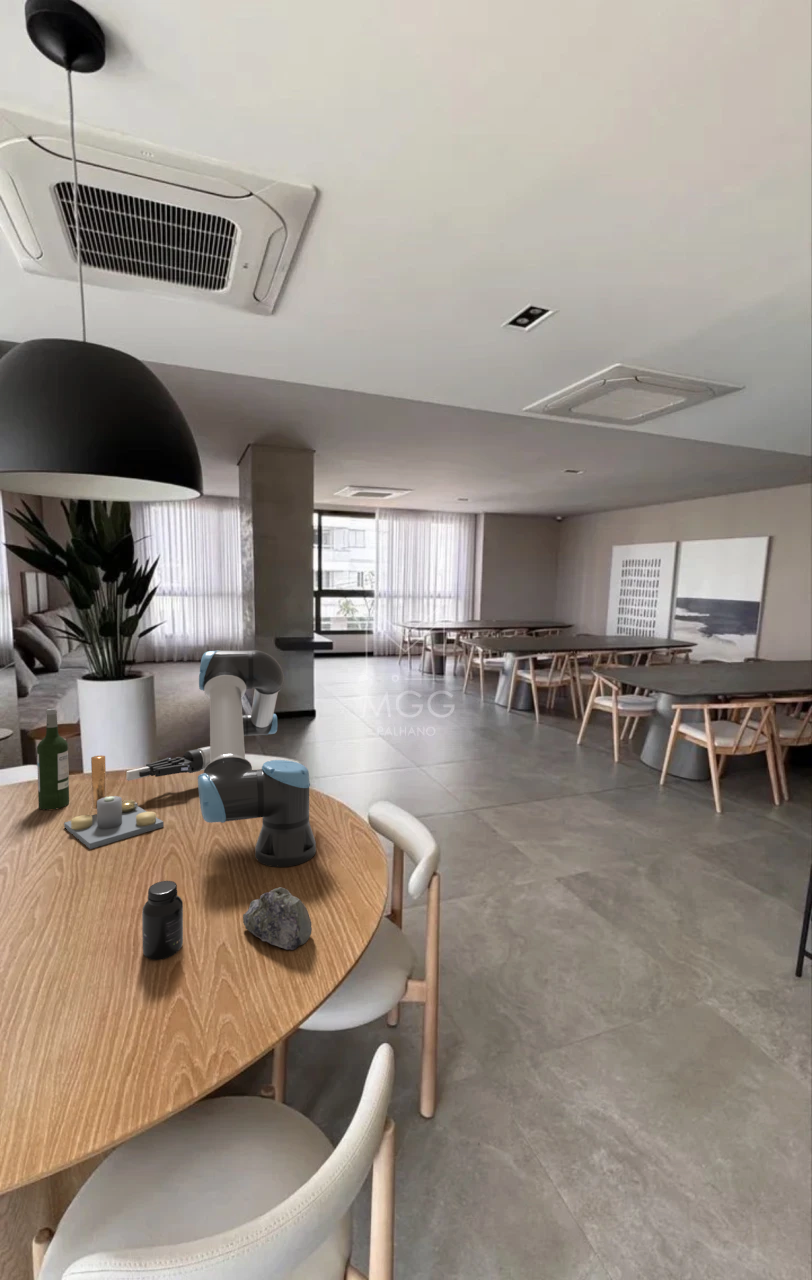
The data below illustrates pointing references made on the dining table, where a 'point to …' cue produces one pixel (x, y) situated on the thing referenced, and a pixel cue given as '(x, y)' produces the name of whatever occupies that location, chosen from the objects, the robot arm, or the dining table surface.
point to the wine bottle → (52, 766)
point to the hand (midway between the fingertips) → (127, 775)
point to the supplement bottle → (162, 921)
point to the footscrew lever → (104, 784)
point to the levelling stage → (114, 833)
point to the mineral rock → (279, 919)
